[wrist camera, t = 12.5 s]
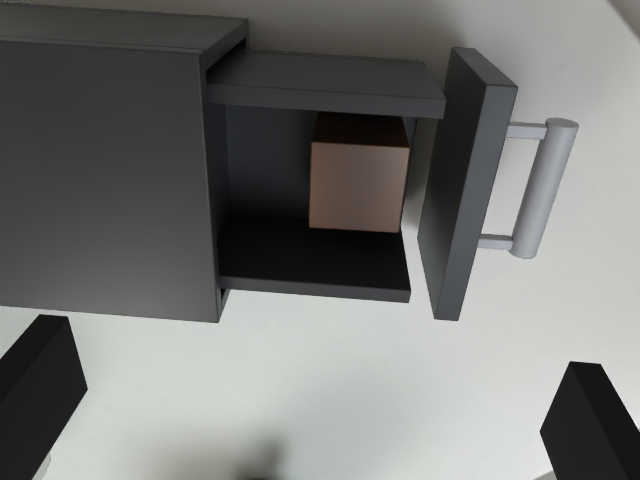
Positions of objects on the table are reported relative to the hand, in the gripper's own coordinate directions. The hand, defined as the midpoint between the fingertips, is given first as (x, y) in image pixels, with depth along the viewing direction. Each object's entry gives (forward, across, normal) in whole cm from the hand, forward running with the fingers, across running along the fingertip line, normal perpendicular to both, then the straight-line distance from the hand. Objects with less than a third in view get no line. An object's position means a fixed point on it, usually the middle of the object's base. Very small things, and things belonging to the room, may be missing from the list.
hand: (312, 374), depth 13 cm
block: (+16, +1, 0) cm, 16 cm away
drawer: (+17, +2, 0) cm, 17 cm away
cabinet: (+18, -12, 0) cm, 22 cm away
